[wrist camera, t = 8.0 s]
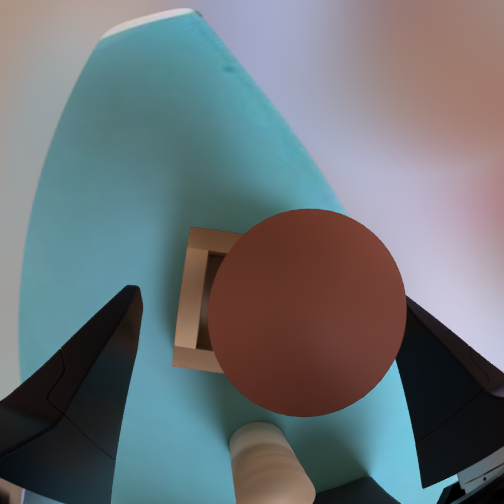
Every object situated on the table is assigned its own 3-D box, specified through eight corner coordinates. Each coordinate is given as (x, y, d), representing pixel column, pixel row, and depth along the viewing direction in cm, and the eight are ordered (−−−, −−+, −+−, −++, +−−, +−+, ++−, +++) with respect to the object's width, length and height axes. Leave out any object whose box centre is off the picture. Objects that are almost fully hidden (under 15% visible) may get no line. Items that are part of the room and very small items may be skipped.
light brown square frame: (297, 369, 18) (310, 380, 16) (177, 357, 18) (171, 366, 15) (311, 253, 20) (326, 245, 17) (193, 236, 19) (189, 225, 16)
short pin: (280, 466, 17) (306, 522, 10) (226, 464, 17) (233, 524, 10) (289, 422, 18) (322, 471, 11) (232, 419, 17) (241, 473, 10)
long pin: (264, 347, 18) (362, 433, 5) (204, 323, 17) (173, 373, 5) (288, 289, 18) (425, 258, 6) (230, 264, 18) (261, 175, 5)
